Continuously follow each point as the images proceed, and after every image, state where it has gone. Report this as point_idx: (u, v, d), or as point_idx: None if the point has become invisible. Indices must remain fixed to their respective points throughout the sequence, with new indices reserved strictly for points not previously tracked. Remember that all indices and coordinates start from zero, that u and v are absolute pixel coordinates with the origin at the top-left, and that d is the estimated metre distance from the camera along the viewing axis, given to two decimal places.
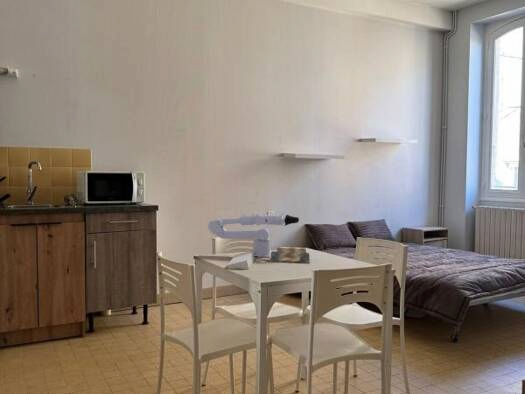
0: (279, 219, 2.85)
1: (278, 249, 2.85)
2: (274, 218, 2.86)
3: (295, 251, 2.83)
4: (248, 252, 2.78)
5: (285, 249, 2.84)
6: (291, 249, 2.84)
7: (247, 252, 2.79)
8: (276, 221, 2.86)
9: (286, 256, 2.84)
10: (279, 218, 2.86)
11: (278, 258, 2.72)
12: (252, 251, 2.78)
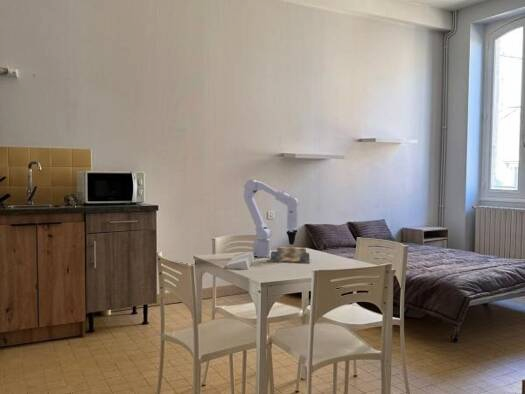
0: (292, 225, 2.82)
1: (278, 249, 2.85)
2: (293, 220, 2.82)
3: (295, 251, 2.83)
4: (248, 252, 2.78)
5: (285, 249, 2.84)
6: (291, 249, 2.84)
7: (247, 252, 2.79)
8: (290, 222, 2.82)
9: (286, 256, 2.84)
10: (293, 225, 2.82)
11: (278, 258, 2.72)
12: (252, 251, 2.78)
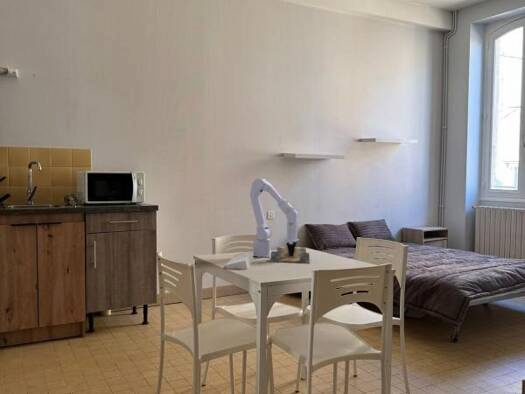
0: (292, 237, 2.82)
1: (278, 249, 2.85)
2: (293, 232, 2.82)
3: (295, 250, 2.83)
4: (247, 252, 2.78)
5: (285, 249, 2.84)
6: None
7: (246, 252, 2.79)
8: (290, 234, 2.82)
9: (286, 256, 2.84)
10: (293, 237, 2.82)
11: (278, 258, 2.72)
12: (251, 251, 2.78)
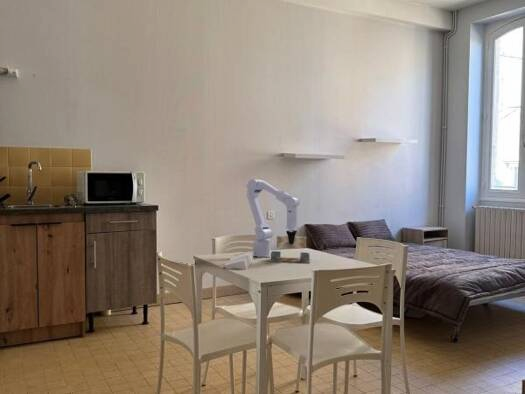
0: (292, 225, 2.77)
1: (278, 238, 2.80)
2: (293, 220, 2.77)
3: (295, 239, 2.79)
4: (247, 252, 2.78)
5: (285, 238, 2.79)
6: None
7: (246, 252, 2.79)
8: (290, 222, 2.77)
9: (286, 245, 2.79)
10: (293, 225, 2.77)
11: (278, 258, 2.72)
12: (251, 251, 2.77)
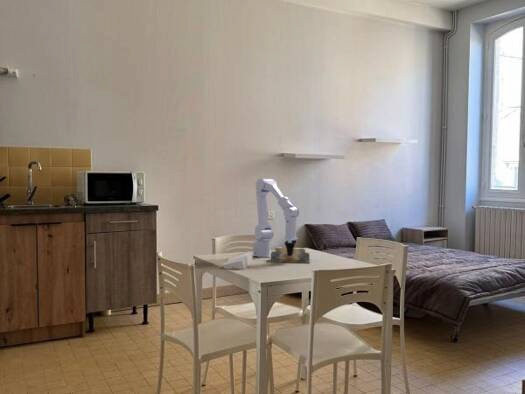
0: (291, 235, 2.71)
1: (276, 249, 2.74)
2: (292, 230, 2.71)
3: (294, 251, 2.72)
4: (246, 252, 2.77)
5: (283, 249, 2.73)
6: None
7: (245, 252, 2.79)
8: (289, 232, 2.71)
9: (285, 257, 2.73)
10: (292, 235, 2.71)
11: (278, 258, 2.72)
12: (250, 251, 2.77)
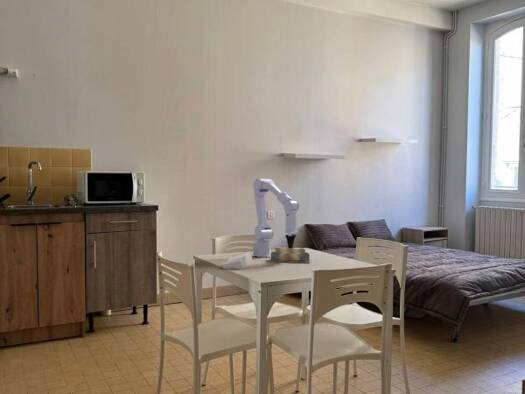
0: (291, 229, 2.71)
1: (276, 249, 2.74)
2: (292, 223, 2.71)
3: (294, 251, 2.72)
4: (246, 252, 2.77)
5: (283, 249, 2.73)
6: (290, 249, 2.73)
7: (245, 252, 2.79)
8: (289, 226, 2.71)
9: (285, 257, 2.73)
10: (292, 229, 2.71)
11: (278, 258, 2.72)
12: (250, 251, 2.77)
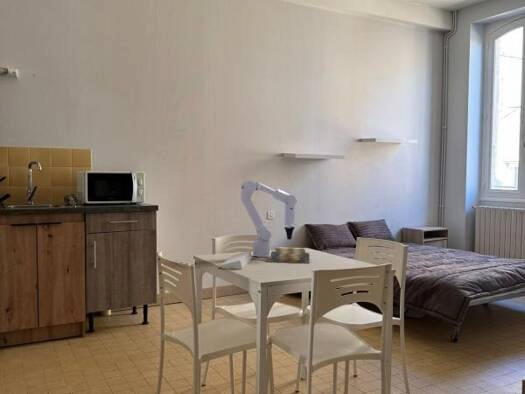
0: (290, 221, 2.90)
1: (276, 249, 2.74)
2: (291, 216, 2.90)
3: (294, 251, 2.72)
4: (245, 252, 2.77)
5: (283, 249, 2.73)
6: (290, 249, 2.73)
7: (244, 252, 2.79)
8: (288, 218, 2.90)
9: (285, 257, 2.73)
10: (291, 221, 2.90)
11: (278, 258, 2.72)
12: (249, 251, 2.77)
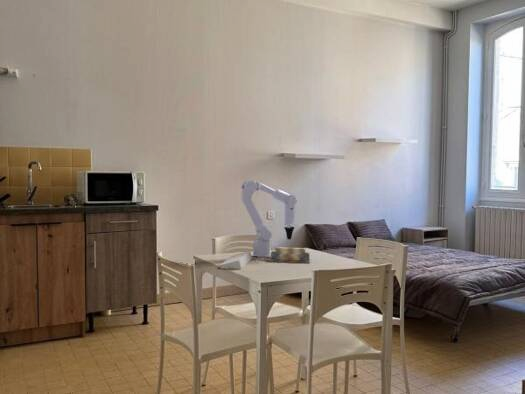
0: (290, 221, 2.91)
1: (276, 249, 2.74)
2: (291, 216, 2.91)
3: (294, 251, 2.72)
4: (245, 252, 2.77)
5: (283, 249, 2.73)
6: (290, 249, 2.73)
7: (244, 252, 2.79)
8: (288, 218, 2.91)
9: (285, 257, 2.73)
10: (291, 221, 2.91)
11: (278, 258, 2.72)
12: (249, 251, 2.77)
